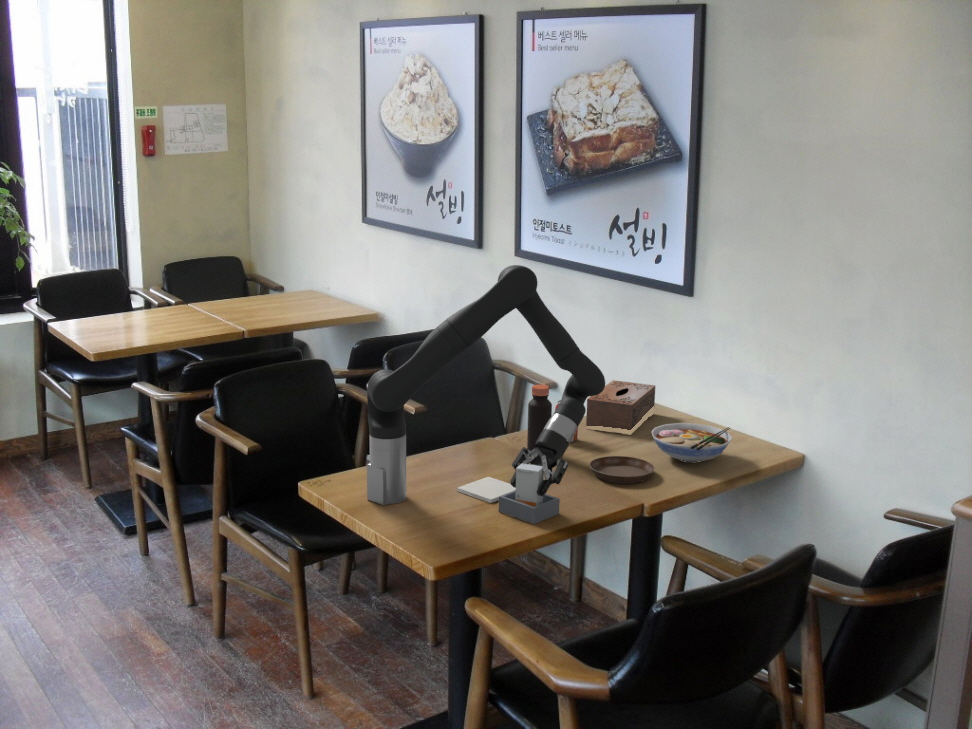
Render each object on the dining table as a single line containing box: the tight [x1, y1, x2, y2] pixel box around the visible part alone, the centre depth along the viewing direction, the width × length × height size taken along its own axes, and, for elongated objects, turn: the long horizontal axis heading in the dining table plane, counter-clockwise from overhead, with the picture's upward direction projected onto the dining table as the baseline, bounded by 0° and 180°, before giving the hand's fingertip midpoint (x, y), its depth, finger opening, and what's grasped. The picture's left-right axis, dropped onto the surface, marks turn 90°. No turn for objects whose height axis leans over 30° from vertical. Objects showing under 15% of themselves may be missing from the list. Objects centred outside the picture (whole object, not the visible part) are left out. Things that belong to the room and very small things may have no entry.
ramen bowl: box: [650, 422, 733, 463], centre depth 310 cm, size 25×23×8 cm
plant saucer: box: [588, 455, 655, 485], centre depth 297 cm, size 18×18×3 cm
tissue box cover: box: [585, 379, 656, 430], centre depth 345 cm, size 26×14×10 cm, turn 155°
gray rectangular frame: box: [498, 490, 560, 525], centre depth 269 cm, size 10×12×4 cm
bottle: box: [526, 384, 553, 451], centre depth 312 cm, size 7×7×20 cm
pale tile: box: [456, 476, 516, 504], centre depth 283 cm, size 12×12×1 cm
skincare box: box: [515, 463, 545, 507], centre depth 268 cm, size 6×4×12 cm
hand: (525, 490), depth 267 cm, fingers open, 8 cm apart
